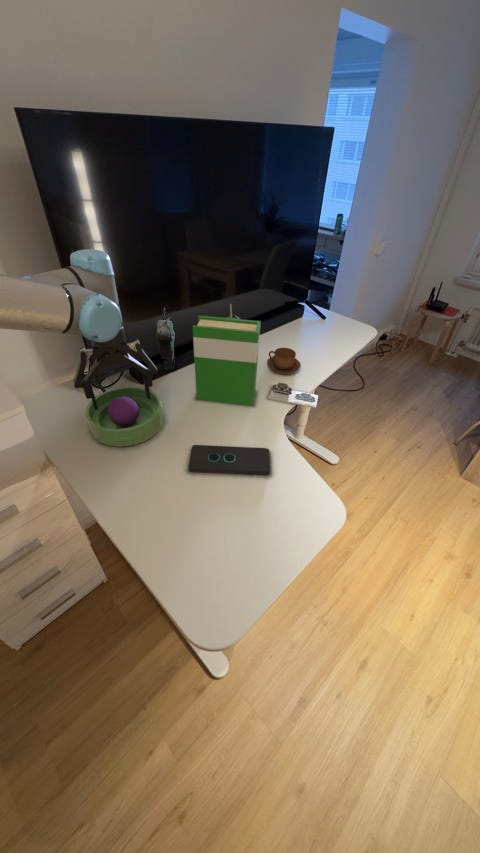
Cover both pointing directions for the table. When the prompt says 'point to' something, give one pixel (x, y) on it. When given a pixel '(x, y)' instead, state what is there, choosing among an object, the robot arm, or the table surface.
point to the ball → (123, 411)
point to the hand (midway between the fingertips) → (122, 401)
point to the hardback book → (226, 359)
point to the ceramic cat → (166, 339)
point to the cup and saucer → (283, 361)
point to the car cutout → (292, 396)
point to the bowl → (131, 434)
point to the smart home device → (229, 460)
